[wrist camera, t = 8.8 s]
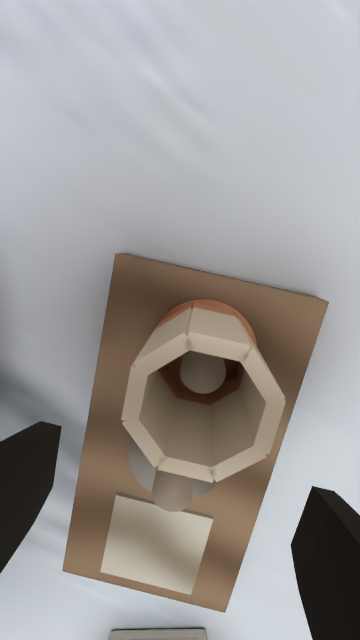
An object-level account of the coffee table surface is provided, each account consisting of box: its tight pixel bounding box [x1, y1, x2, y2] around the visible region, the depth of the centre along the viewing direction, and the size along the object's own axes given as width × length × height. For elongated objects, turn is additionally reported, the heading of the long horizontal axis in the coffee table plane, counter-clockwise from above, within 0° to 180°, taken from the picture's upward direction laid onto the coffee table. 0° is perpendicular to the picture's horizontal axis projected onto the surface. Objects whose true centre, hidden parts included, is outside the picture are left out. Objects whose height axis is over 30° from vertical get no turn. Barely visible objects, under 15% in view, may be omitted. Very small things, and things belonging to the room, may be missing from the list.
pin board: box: [62, 253, 329, 613], centre depth 17 cm, size 21×11×4 cm, turn 168°
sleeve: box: [121, 302, 286, 483], centre depth 13 cm, size 5×5×6 cm
